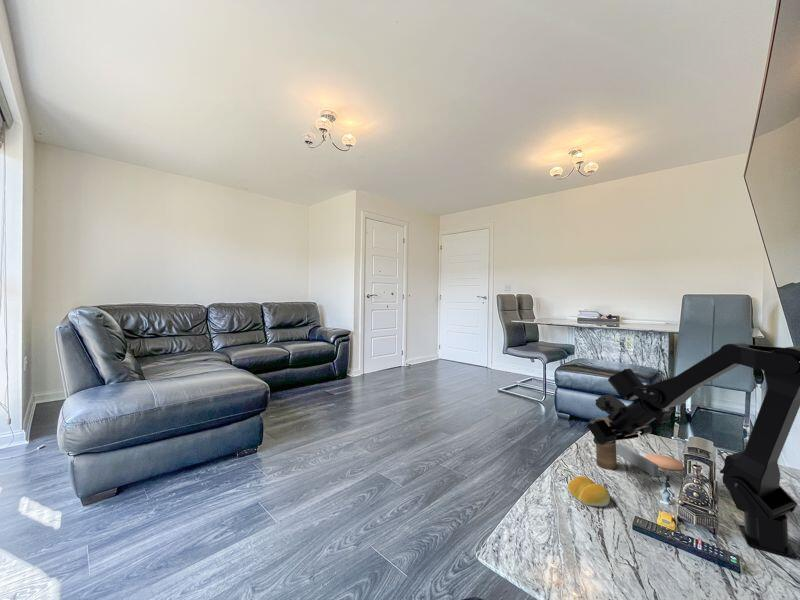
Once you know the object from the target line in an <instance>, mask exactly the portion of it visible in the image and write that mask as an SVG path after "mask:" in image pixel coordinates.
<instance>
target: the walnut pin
mask: <svg viewBox="0 0 800 600" xmlns="http://www.w3.org/2000/svg"><path fill="white" fill-rule="evenodd" d="M595 419H603V420H604V421H605V422H606V423H607V425H608V426H610V425H609V422H612V420H609V418H608V417H595ZM595 419H594V420H595ZM612 432H613V431H612ZM616 444H617V440H616V438H615V443H611V444H605V445H601V444H595V456H596V457H595V458H596V459H595V460H596V465H597V466H598V467H599V468H601V469H604V470H605V469H606V470H608V471H609V470H610V471H613V470H617V468H618V463H617V454H616Z"/></svg>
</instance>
